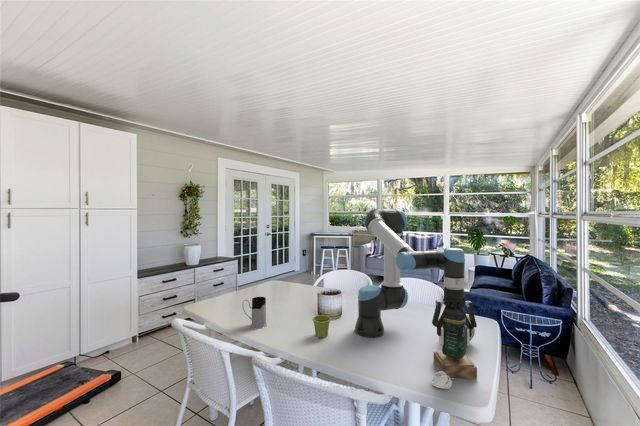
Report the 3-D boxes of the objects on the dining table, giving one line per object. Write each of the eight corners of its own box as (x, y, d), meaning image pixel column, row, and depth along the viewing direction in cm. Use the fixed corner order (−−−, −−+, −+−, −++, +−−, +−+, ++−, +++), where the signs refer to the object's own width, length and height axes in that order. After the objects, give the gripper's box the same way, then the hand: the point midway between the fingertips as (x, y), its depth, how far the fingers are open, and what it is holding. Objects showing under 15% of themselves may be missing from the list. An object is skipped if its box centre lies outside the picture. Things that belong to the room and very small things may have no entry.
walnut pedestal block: (444, 378, 112) (444, 365, 112) (433, 362, 124) (433, 350, 124) (476, 379, 111) (476, 366, 111) (463, 363, 123) (463, 351, 123)
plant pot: (317, 340, 145) (317, 323, 145) (309, 333, 153) (309, 317, 153) (334, 337, 149) (334, 319, 149) (325, 330, 157) (325, 314, 157)
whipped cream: (446, 396, 103) (447, 383, 102) (427, 386, 107) (428, 374, 106) (453, 384, 109) (454, 372, 108) (435, 376, 113) (436, 364, 112)
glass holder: (263, 329, 159) (263, 301, 159) (238, 327, 162) (238, 299, 162) (269, 323, 168) (269, 296, 168) (246, 321, 170) (246, 295, 170)
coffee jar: (461, 362, 111) (461, 312, 111) (439, 355, 116) (440, 308, 116) (468, 352, 118) (468, 306, 118) (447, 347, 124) (447, 302, 123)
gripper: (429, 289, 114) (429, 347, 114) (487, 290, 113) (487, 349, 113) (423, 284, 122) (423, 339, 122) (477, 285, 120) (477, 340, 121)
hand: (454, 344), depth 117 cm, fingers closed on coffee jar, 9 cm apart
